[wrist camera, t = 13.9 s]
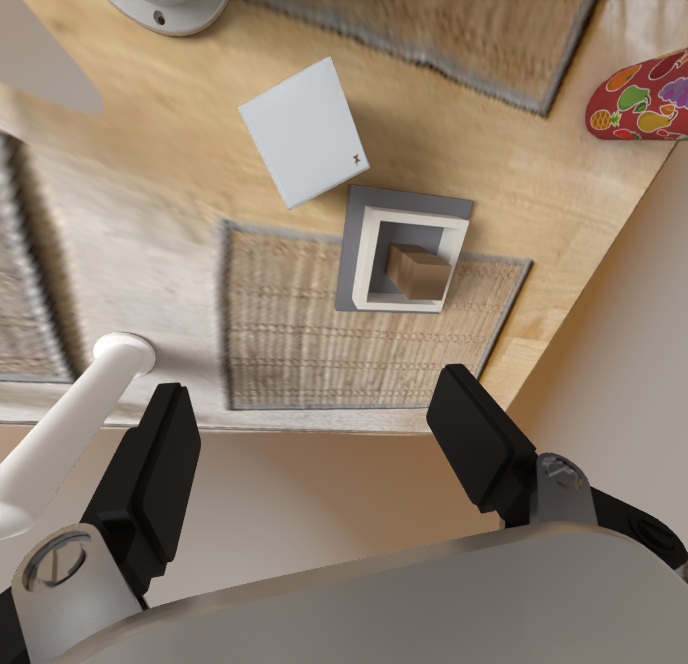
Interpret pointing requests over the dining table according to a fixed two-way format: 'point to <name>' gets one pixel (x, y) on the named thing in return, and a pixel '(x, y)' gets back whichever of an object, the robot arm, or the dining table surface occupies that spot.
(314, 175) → the supplement box
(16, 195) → the dining table surface
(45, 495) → the candle
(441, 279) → the block
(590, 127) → the smoothie
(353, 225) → the collar stand
